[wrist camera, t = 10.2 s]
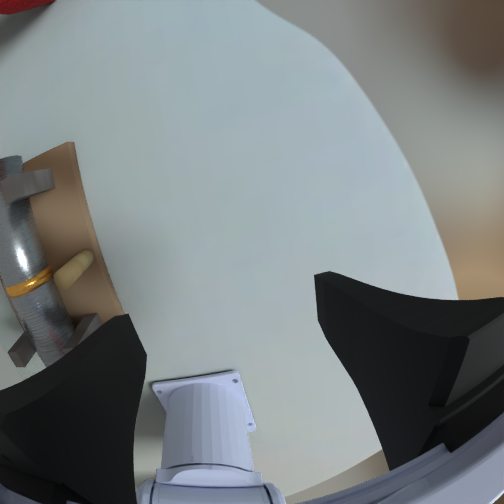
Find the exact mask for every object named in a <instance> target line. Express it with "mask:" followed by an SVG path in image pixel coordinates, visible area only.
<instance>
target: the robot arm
mask: <svg viewBox="0 0 504 504" xmlns="http://www.w3.org/2000/svg"><path fill="white" fill-rule="evenodd" d="M314 280H315V291H316V302H317V315H318V321H319V324H320V326H321V328H322V331H323V333H324V335H325V337H326V339H327V341H328V343H329V344H330V346H331V347H332V349H333V350H334V352H335V354H336V355H337V357H338V358H339V360H340V361H341V363H342V364H343V366H344V368H345V369H346V371H347V372H348V374H349V375H350V377H351V378H352V380H353V382H354V384H355V385H356V387H357V389H358V391H359V393H360V395H361V398H362V400H363V402H364V404H365V406H366V408H367V411H368V413H369V416H370V418H371V420H372V423H373V425H374V427H375V430H376V433H377V435H378V438H379V441H380V443H381V446H382V449H383V451H384V454H385V457H386V461H387V463H388V467H389V470H390V471H389V472H387V473H385V474H383V475H380V476H379V477H376V478H374V479H371V480H369V481H366V482H364V483H361V484H359V485H356V486H353V487H350V488H348V489H345V490H342V491H339V492H336V493H333V494H330V495H326V496H323V497H320V498H316V499H312V500H309V501H305V502H301V503H297V504H492V503H494V502H495V501H496V500H497V499H498V498H499V497H500V496H501V495H502V494H503V493H504V297H497V298H489V299H479V300H440V299H429V298H421V297H415V296H410V295H405V294H400V293H396V292H392V291H388V290H385V289H381V288H378V287H375V286H372V285H369V284H366V283H363V282H360V281H357V280H355V279H352V278H349V277H346V276H344V275H341V274H338V273H334V272H330V271H328V272H324V273H320V274H316V275H314ZM146 361H147V354H146V352H145V350H144V348H143V345H142V343H141V341H140V339H139V337H138V335H137V332H136V330H135V328H134V326H133V323H132V321H131V319H130V316H129V314H124V315H118V316H114V317H113V318H111V319H109V320H108V321H107V322H105V323H104V324H103V325H101V326H100V327H99V328H98V329H96V330H95V331H94V332H93V333H92V334H90V335H89V336H88V337H87V338H86V339H84V340H83V341H82V342H81V343H79V344H78V345H77V346H76V347H74V348H73V349H72V350H71V351H69V352H68V353H67V354H66V355H64V356H63V357H62V358H60V359H59V360H57V361H56V362H55V363H53V364H51V365H50V366H48V367H47V368H45V369H44V370H42V371H40V372H39V373H37V374H35V375H33V376H31V377H29V378H28V379H26V380H24V381H22V382H20V383H18V384H15V385H13V386H11V387H8V388H6V389H3V390H0V504H287V503H286V501H285V498H284V496H283V494H282V492H281V491H280V490H279V489H278V488H276V487H275V486H274V485H273V484H272V483H263V481H262V476H261V472H255V471H254V466H253V460H252V454H251V448H250V442H249V436H248V432H252V431H255V430H256V425H255V422H254V419H253V416H252V413H251V410H250V406H249V403H248V400H247V397H246V394H245V391H244V388H243V384H242V381H241V378H240V375H239V373H238V372H237V371H228V372H223V373H217V374H211V375H205V376H199V377H192V378H185V379H178V380H170V381H162V382H155V383H153V385H152V389H153V391H154V392H155V394H156V396H157V397H158V399H159V401H160V402H161V404H162V406H163V407H164V409H165V411H166V420H165V430H164V439H163V450H162V462H161V469H156V480H154V479H147V480H145V482H143V483H142V484H141V485H140V486H139V487H138V490H137V493H136V492H135V481H134V463H133V447H134V429H135V422H136V417H137V412H138V407H139V402H140V398H141V393H142V389H143V384H144V380H145V374H146ZM234 379H237V380H234ZM158 390H160V391H158Z"/></svg>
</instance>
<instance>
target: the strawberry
mask: <svg viewBox="0 0 504 504" xmlns="http://www.w3.org/2000/svg"><path fill="white" fill-rule="evenodd" d="M53 1H54V0H0V14H7V15H10V14H14V13H18V12H21V11H25V10H29V9H32V8H35V7H38V6H41V5H46V4H49V3H51V2H53Z"/></svg>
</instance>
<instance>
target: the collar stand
mask: <svg viewBox="0 0 504 504" xmlns="http://www.w3.org/2000/svg"><path fill="white" fill-rule="evenodd" d="M23 168H24V172H23V173H17V174H13V175H11V176H9V177H7V178H6V179H4V180H2V181H1V186H2V191H3V196H4V200H5V205H6V204H9V203H12V202H15V201H18V200H21V199H24V198H27V197H29V198H30V202H31V207H32V211H33V215H34V218H35V222H36V226H37V229H38V233H39V236H40V239H41V242H42V245H43V249H44V252H45V255H46V257H47V260H48V263H49V264H50V267H51V270H52V272H53V277H54V282H55V284H56V285H57V287H58V289H59V292H60V294H61V296H62V299H63V301H64V303H65V306H66V308H67V310H68V312H69V314H70V317H71V319H72V321H73V323H74V325H75V327H76V329H75V330H74V332H73V333H72V335H71V336H70V338H69V340H68V341H67V343H66V344H65V346H64V347H63V349H62V350H63V351H64V353H65V355H66V354H67V353H68V352H69V351H71V350H72V349H73V348H74V347H76V346H77V345H78V344H79V343H81V342H82V341H83V340H84V339H86V338H87V337H88V336H89V335H90V334H92V333H93V332H94V331H95V330H96V329H98V328H99V327H100V326H101V325H103V324H104V323H105V322H107V321H108V320H109V319H111V318H113V317H114V316H118V315H124V312H123V310H122V307H121V305H120V302H119V300H118V297H117V295H116V292H115V290H114V287H113V284H112V282H111V279H110V276H109V273H108V271H107V268H106V265H105V262H104V259H103V256H102V253H101V250H100V247H99V244H98V241H97V237H96V234H95V231H94V227H93V224H92V220H91V217H90V213H89V209H88V205H87V202H86V198H85V193H84V189H83V185H82V180H81V176H80V171H79V166H78V161H77V156H76V150H75V144H74V142H66V143H64V144H61V145H59V146H57V147H55V148H53V149H51V150H49V151H47V152H44V153H42V154H40V155H38V156H36V157H35V158H33V159H31V160H29V161H27V162H25V163H23ZM0 280H1V282H2V285H3V287H4V284H3V281H2V278H1V276H0ZM4 290H5V288H4ZM5 292H6V290H5ZM6 294H7V293H6ZM7 297H8V295H7ZM8 299H9V301H10V304H11V306H12V308H13V310H14V312H15V314H16V316H17V313H16V311H15V309H14V307H13V305H12V303H11V300H10V298H9V297H8ZM17 318H18V316H17ZM18 320H19V318H18ZM19 322H20V320H19ZM20 324H21V322H20ZM21 326H22V324H21ZM22 328H23V326H22ZM23 330H24V328H23ZM35 352H36V350H35V348H34V346H33V344H32V343H31V341H30V339H29V337H28V335H27V333H26V332H25V330H24V333H23V334H22V335H21V336H20V338H19V339H18V340H17V341H16V343H15V344H14V345H13V346H12V347H11V349H10V350H9V351H8V354H9V356H10V358H11V359H12V361H13V362H14V364H15V366H16V367H25V366H26V365H27V364H28V362H29V361H30V359H31V358H32V356H33V355H34V353H35Z"/></svg>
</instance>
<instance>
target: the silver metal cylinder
mask: <svg viewBox="0 0 504 504" xmlns="http://www.w3.org/2000/svg"><path fill="white" fill-rule="evenodd" d="M23 172H24V168H23V162H22V157H21V156H18V155H17V156H9V157H5V158H2V159H0V276H1V278H2V281H3V284H4V288H5V290H6V293H7V295H8V297H9V298H10V300H11V303H12V305H13V307H14V309H15V311H16V313H17V316H18V318H19V320H20V322H21V324H22V326H23V328H24V330H25V332H26V333H27V335H28V337H29V339H30V341H31V343H32V344H33V346H34V348H35V350H36V351H37V353H38V355H39V357H40V358H41V360H42V362H43V363H44V365H45V366H46V368H47V367H48V366H50V365H51V364H53V363H55V362H56V361H57V360H59V359H60V358H62V357H63V356H64V355H65V353H64V351H63V350H62V349H63V347H64V346H65V344H66V343H67V341H68V340H69V338H70V336H71V335H72V333H73V332H74V330H75V329H76V327H75V325H74V323H73V321H72V319H71V317H70V314H69V312H68V310H67V308H66V306H65V303H64V301H63V299H62V296H61V294H60V292H59V289H58V287H57V285H56V284H55V282H54V277H53V272H52V270H51V267H50V264H49V263H48V260H47V257H46V255H45V252H44V249H43V245H42V242H41V239H40V236H39V233H38V229H37V226H36V222H35V218H34V215H33V211H32V207H31V202H30V198H29V197H27V198H24V199H21V200H18V201H15V202H12V203H9V204H6V205H5V200H4V196H3V191H2V186H1V181H2V180H4V179H6V178H7V177H9V176H11V175H13V174H17V173H23Z"/></svg>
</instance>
